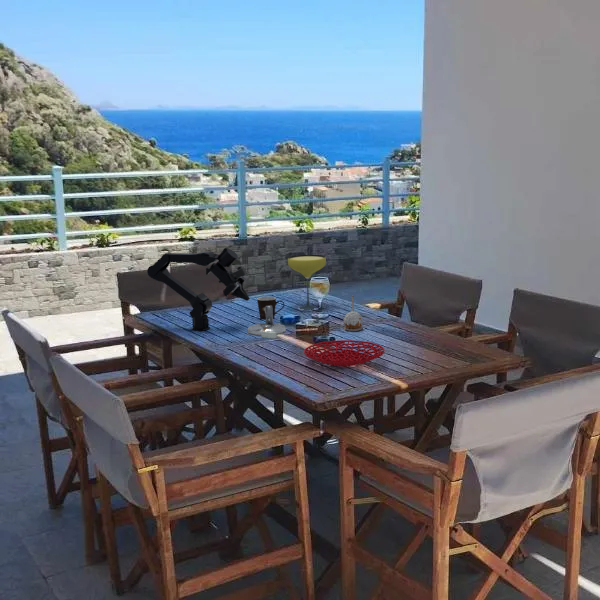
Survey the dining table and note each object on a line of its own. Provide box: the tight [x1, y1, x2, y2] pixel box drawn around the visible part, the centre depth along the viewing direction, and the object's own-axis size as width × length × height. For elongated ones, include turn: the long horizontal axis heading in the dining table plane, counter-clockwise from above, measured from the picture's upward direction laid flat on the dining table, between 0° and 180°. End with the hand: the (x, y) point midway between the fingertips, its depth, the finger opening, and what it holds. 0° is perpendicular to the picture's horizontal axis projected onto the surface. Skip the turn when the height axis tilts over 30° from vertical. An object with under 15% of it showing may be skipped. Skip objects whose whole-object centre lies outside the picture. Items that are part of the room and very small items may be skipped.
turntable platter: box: [247, 306, 287, 337], centre depth 346 cm, size 16×16×10 cm
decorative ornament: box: [343, 294, 363, 332], centre depth 348 cm, size 8×8×15 cm
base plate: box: [243, 330, 277, 339], centre depth 346 cm, size 20×20×4 cm
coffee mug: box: [256, 296, 285, 320], centre depth 371 cm, size 12×9×10 cm
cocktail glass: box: [287, 254, 327, 310], centre depth 391 cm, size 18×18×25 cm
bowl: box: [303, 339, 386, 368], centre depth 299 cm, size 30×29×5 cm
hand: (248, 299), depth 351 cm, fingers closed
